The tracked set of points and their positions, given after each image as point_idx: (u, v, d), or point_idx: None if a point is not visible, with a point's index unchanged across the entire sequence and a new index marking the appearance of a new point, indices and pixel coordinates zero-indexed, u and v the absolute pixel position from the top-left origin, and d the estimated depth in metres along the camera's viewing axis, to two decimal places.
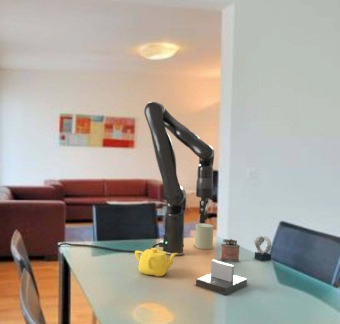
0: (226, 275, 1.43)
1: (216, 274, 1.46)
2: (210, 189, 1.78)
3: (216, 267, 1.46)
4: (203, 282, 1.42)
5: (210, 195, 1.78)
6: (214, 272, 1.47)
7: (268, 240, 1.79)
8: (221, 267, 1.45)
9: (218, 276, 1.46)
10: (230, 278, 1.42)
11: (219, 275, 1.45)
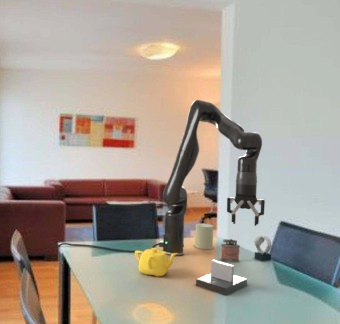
0: (226, 275, 1.43)
1: (216, 274, 1.46)
2: (239, 185, 1.50)
3: (216, 267, 1.46)
4: (203, 282, 1.42)
5: (239, 192, 1.50)
6: (214, 272, 1.47)
7: (268, 240, 1.79)
8: (221, 267, 1.45)
9: (218, 276, 1.46)
10: (230, 278, 1.42)
11: (219, 275, 1.45)
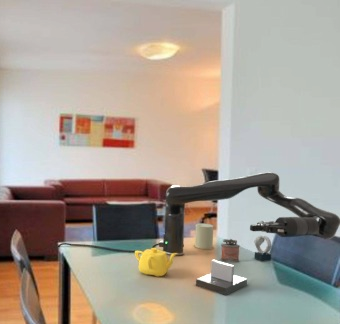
0: (226, 275, 1.43)
1: (216, 274, 1.46)
2: None
3: (216, 267, 1.46)
4: (203, 282, 1.42)
5: None
6: (214, 272, 1.47)
7: (268, 240, 1.79)
8: (221, 267, 1.45)
9: (218, 276, 1.46)
10: (230, 278, 1.42)
11: (219, 275, 1.45)
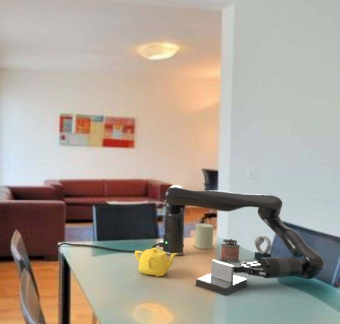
0: (226, 275, 1.43)
1: (216, 274, 1.46)
2: None
3: (216, 267, 1.46)
4: (203, 282, 1.42)
5: None
6: (214, 272, 1.47)
7: (268, 240, 1.79)
8: (220, 267, 1.45)
9: (218, 276, 1.46)
10: (230, 278, 1.42)
11: (219, 275, 1.45)
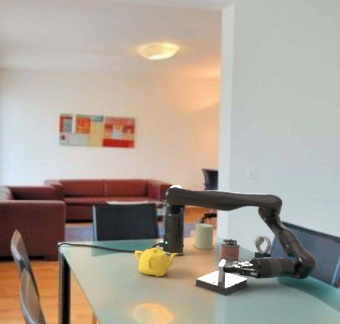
0: None
1: None
2: None
3: None
4: (203, 282, 1.42)
5: None
6: None
7: (268, 240, 1.79)
8: None
9: None
10: (218, 277, 1.42)
11: None
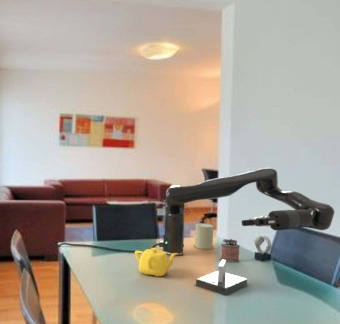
0: None
1: None
2: None
3: None
4: (203, 282, 1.42)
5: None
6: None
7: (268, 240, 1.79)
8: None
9: None
10: (218, 277, 1.42)
11: None
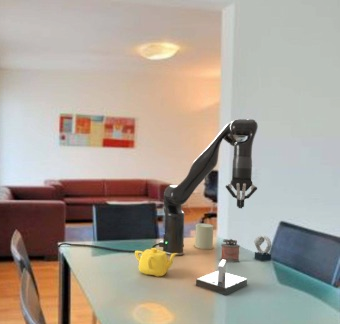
0: None
1: None
2: None
3: None
4: (203, 282, 1.42)
5: None
6: None
7: (268, 240, 1.79)
8: None
9: None
10: (218, 277, 1.42)
11: None
